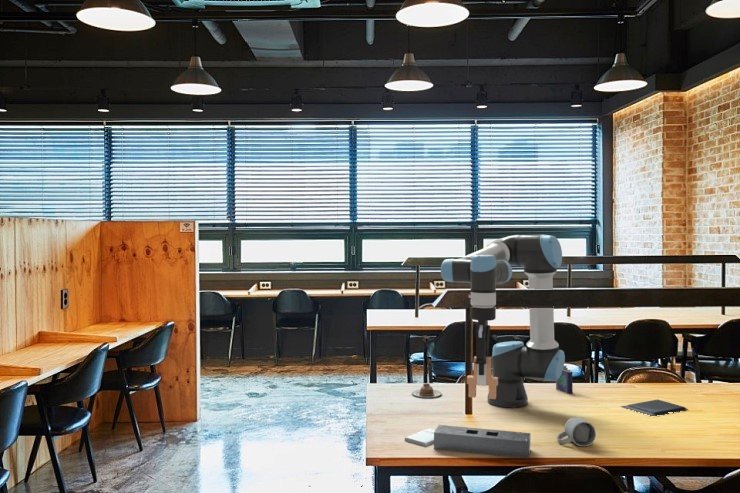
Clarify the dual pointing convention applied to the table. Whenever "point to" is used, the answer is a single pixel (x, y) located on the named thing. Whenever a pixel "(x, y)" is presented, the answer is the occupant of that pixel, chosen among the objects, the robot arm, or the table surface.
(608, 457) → the table surface
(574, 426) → the ceramic mug
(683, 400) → the table surface
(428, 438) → the external hard drive
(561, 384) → the flask
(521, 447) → the rail
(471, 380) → the tan wooden block
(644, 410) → the dark gray flat slab
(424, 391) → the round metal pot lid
